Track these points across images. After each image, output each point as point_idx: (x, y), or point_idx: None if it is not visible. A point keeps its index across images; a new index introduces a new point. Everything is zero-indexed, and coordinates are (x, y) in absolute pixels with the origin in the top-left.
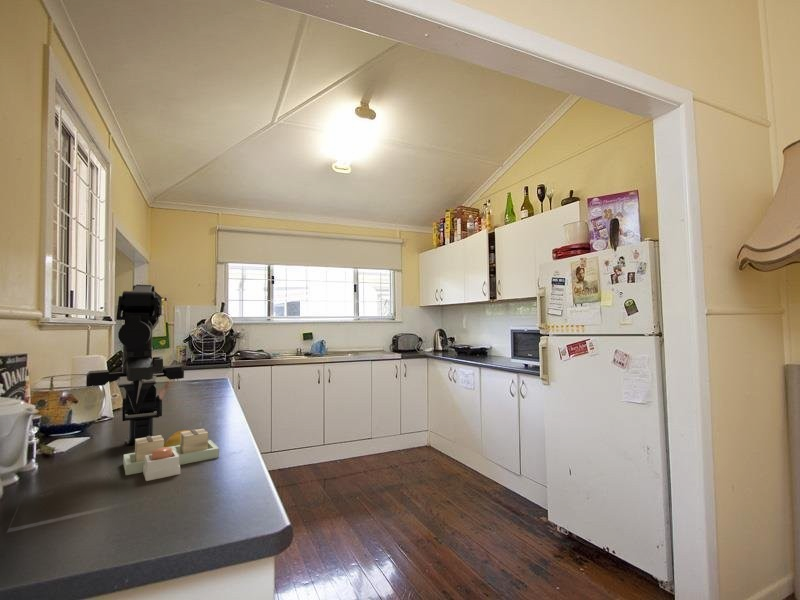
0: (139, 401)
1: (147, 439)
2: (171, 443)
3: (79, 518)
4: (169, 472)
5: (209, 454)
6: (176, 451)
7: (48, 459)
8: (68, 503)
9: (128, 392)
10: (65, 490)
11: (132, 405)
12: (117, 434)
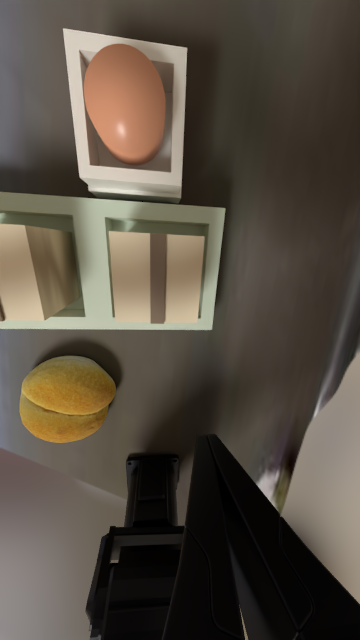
0: (210, 497)
1: (164, 282)
2: (94, 377)
3: None
4: None
5: None
6: (82, 258)
7: (294, 442)
8: (352, 85)
9: (357, 620)
10: (327, 215)
11: (243, 469)
12: (183, 524)
